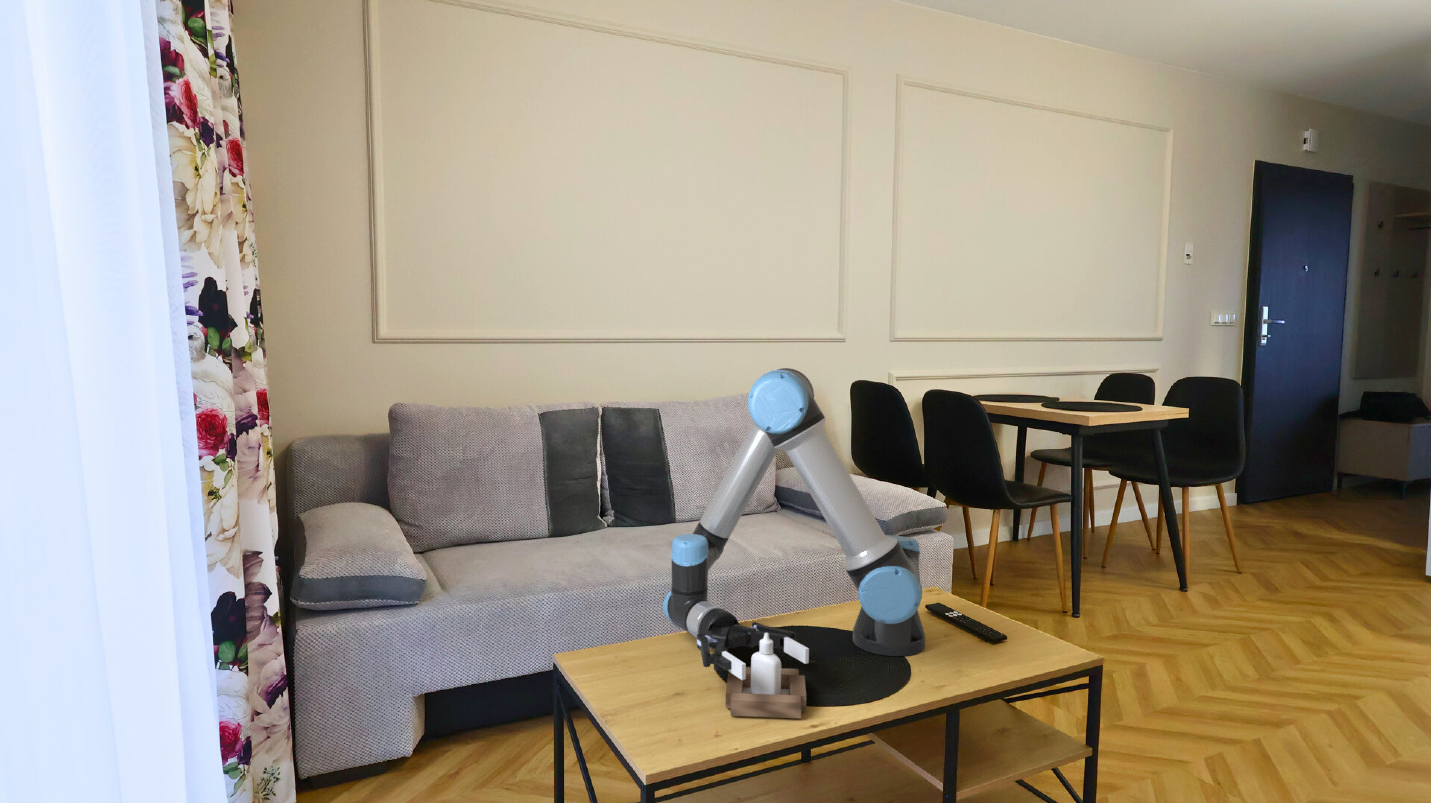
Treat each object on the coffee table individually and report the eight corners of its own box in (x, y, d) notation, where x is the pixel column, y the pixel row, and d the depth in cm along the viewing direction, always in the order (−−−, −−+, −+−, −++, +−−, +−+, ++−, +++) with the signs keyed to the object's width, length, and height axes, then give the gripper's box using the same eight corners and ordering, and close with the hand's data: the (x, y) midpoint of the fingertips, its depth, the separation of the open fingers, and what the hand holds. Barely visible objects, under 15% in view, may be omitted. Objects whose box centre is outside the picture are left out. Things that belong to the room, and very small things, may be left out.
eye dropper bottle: (770, 690, 151) (771, 626, 150) (783, 703, 146) (784, 637, 145) (748, 693, 150) (749, 629, 148) (760, 706, 144) (761, 640, 143)
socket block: (803, 685, 154) (803, 669, 154) (806, 721, 140) (807, 702, 140) (728, 683, 155) (728, 666, 155) (724, 717, 141) (724, 699, 141)
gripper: (765, 632, 169) (831, 669, 151) (657, 656, 156) (715, 700, 138) (765, 597, 169) (832, 630, 151) (657, 618, 156) (715, 657, 138)
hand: (776, 663), depth 144 cm, fingers open, 13 cm apart
